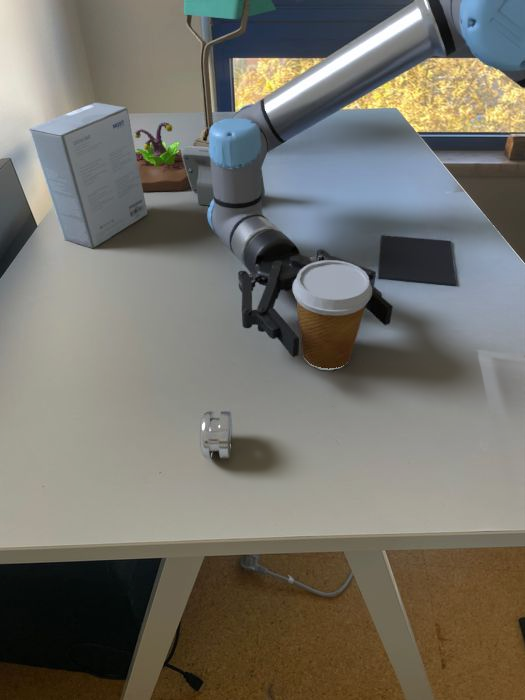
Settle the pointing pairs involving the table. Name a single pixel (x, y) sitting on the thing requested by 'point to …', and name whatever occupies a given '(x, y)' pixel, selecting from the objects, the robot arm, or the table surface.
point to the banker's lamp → (218, 41)
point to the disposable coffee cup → (330, 310)
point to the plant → (161, 164)
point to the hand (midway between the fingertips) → (344, 331)
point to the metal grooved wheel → (216, 434)
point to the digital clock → (202, 172)
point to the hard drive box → (91, 172)
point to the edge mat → (416, 260)
